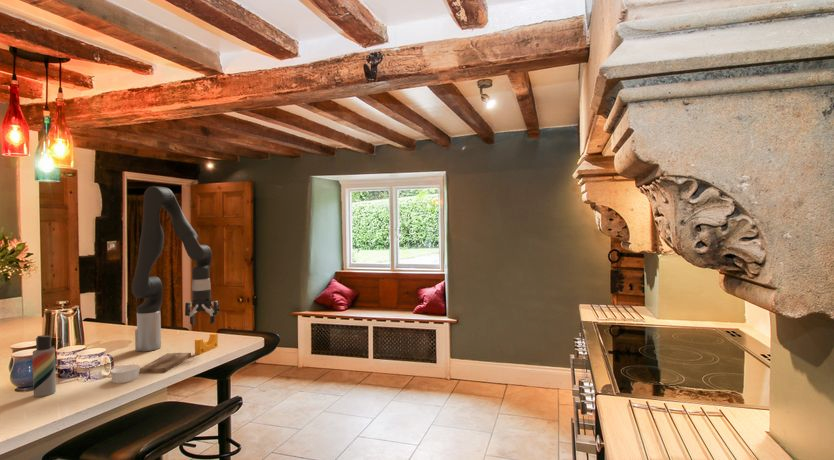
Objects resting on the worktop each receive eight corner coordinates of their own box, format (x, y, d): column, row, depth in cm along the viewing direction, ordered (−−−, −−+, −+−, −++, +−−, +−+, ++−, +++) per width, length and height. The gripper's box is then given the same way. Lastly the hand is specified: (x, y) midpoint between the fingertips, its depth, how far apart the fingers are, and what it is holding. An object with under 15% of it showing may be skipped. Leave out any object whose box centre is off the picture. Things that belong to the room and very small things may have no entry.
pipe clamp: (209, 346, 199) (209, 332, 199) (217, 347, 198) (217, 333, 198) (191, 354, 187) (191, 339, 187) (200, 354, 187) (199, 340, 186)
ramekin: (117, 386, 151) (116, 374, 150) (106, 381, 155) (105, 369, 155) (144, 378, 158) (143, 366, 158) (132, 374, 163) (132, 362, 163)
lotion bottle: (33, 394, 144) (31, 335, 144) (55, 389, 148) (53, 332, 148) (34, 398, 140) (32, 338, 140) (56, 393, 144) (55, 335, 144)
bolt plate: (139, 372, 164) (139, 368, 164) (167, 356, 184) (167, 352, 184) (166, 372, 164) (166, 367, 164) (191, 356, 184) (191, 352, 184)
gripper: (220, 287, 197) (222, 322, 197) (189, 288, 196) (190, 323, 196) (213, 289, 189) (215, 325, 189) (181, 290, 189) (182, 327, 189)
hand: (202, 324), depth 193 cm, fingers open, 8 cm apart
